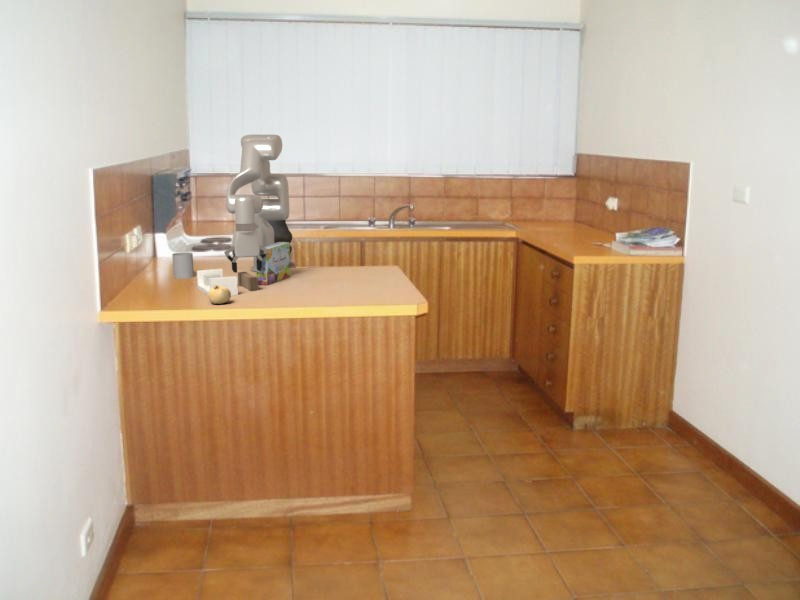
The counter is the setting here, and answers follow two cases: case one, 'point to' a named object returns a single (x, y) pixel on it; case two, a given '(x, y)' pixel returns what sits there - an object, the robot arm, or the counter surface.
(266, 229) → the robot arm
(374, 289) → the counter surface
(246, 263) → the counter surface
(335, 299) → the counter surface
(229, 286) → the white bracket frame
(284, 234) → the pitcher
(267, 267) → the snack box
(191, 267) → the cup
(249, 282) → the tan bar
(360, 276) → the counter surface
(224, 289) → the onion
